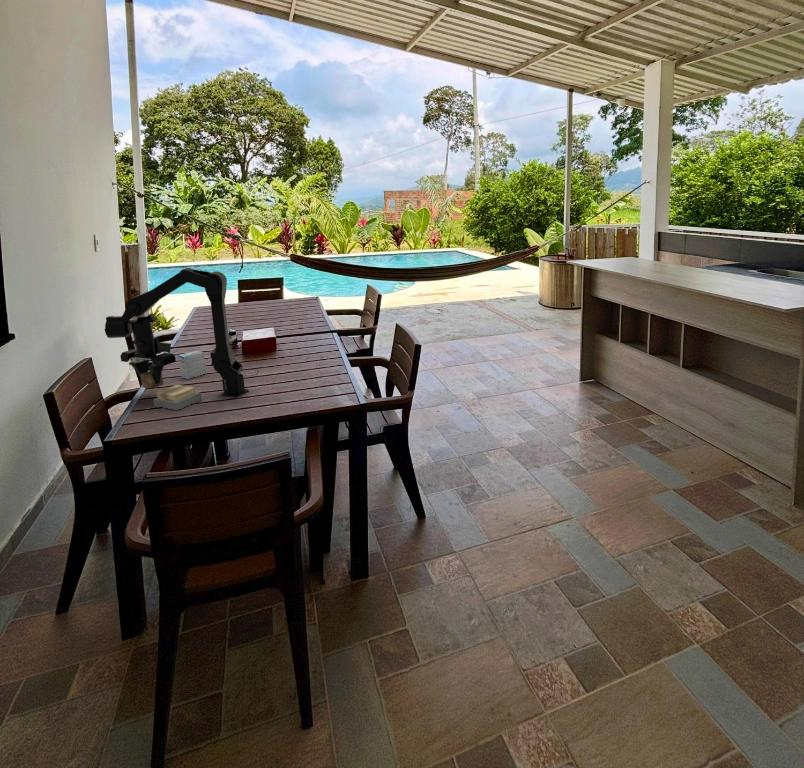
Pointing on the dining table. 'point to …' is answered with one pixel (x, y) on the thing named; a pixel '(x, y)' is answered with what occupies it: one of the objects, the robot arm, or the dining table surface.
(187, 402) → the slate slab
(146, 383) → the walnut cube
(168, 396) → the oak block
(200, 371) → the medicine box
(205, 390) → the dining table surface
